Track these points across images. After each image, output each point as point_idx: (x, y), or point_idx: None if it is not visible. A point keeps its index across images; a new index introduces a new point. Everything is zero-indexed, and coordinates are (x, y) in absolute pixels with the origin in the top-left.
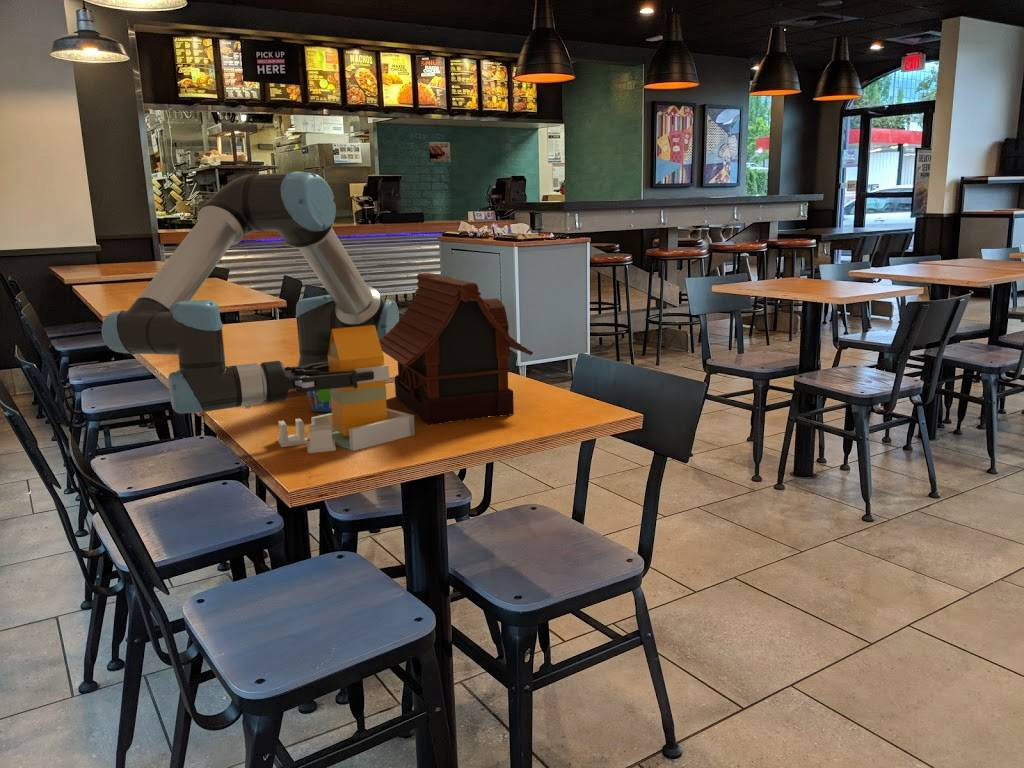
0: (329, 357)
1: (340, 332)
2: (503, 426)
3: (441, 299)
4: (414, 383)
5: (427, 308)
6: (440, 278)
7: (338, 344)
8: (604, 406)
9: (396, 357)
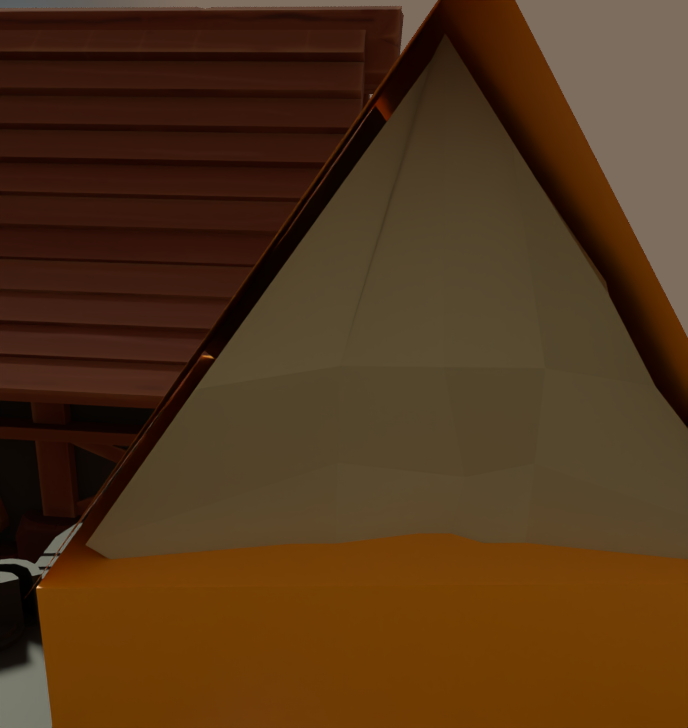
0: (165, 623)
1: (477, 76)
2: None
3: (194, 82)
4: (58, 496)
5: (36, 136)
6: (41, 8)
7: (642, 294)
8: None
9: (118, 385)
